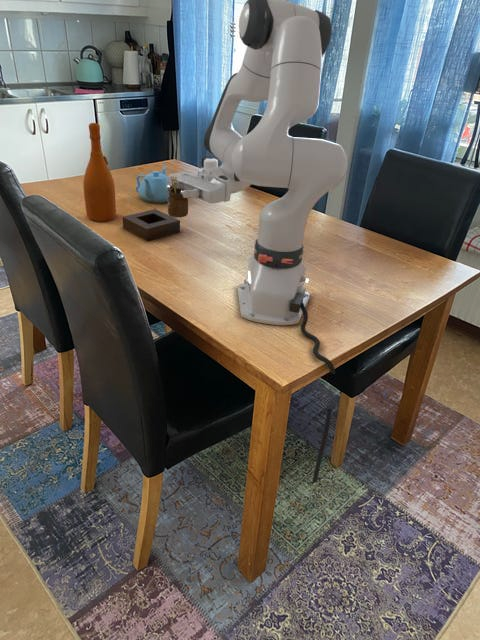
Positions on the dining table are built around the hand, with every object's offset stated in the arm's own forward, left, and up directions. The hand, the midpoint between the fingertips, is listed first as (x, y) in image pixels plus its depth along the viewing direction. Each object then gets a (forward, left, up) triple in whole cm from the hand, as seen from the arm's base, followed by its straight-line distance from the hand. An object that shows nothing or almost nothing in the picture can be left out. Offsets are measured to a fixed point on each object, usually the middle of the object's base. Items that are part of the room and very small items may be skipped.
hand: (175, 191), depth 139 cm
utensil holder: (+1, -1, -7) cm, 7 cm away
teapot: (+42, +16, -17) cm, 48 cm away
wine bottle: (+17, +29, -17) cm, 38 cm away
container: (+59, 0, -17) cm, 61 cm away
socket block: (+11, +10, -17) cm, 23 cm away
